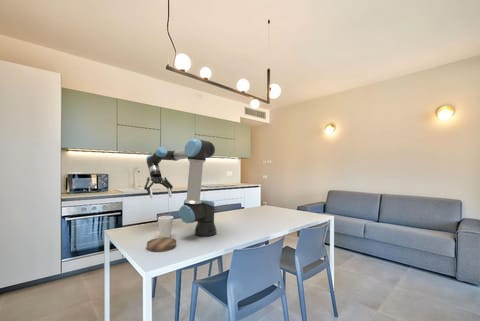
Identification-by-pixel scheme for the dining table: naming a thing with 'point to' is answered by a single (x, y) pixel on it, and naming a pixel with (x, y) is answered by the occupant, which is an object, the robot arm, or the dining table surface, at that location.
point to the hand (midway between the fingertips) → (161, 196)
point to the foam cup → (165, 226)
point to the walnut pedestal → (161, 244)
